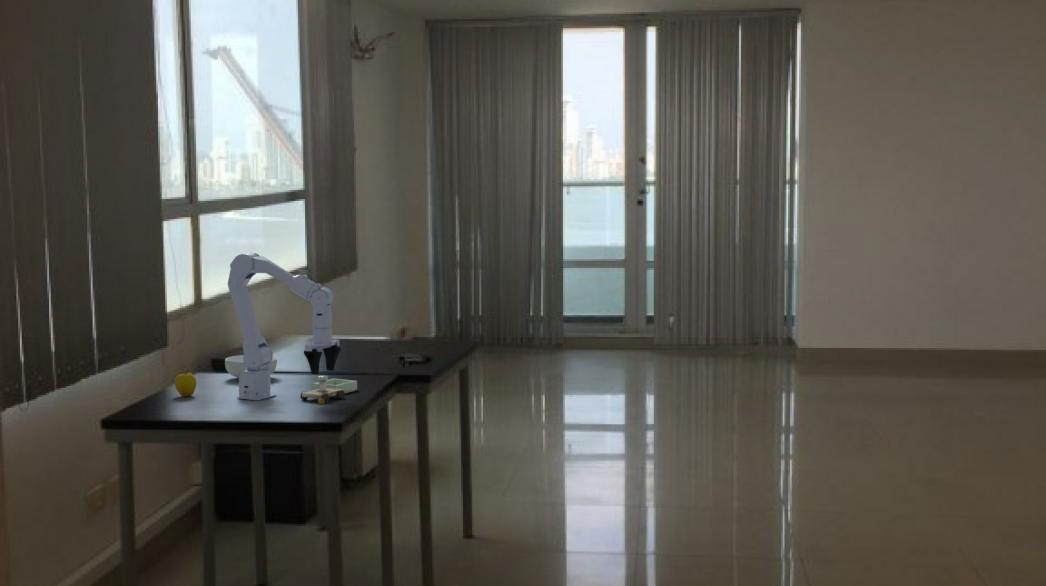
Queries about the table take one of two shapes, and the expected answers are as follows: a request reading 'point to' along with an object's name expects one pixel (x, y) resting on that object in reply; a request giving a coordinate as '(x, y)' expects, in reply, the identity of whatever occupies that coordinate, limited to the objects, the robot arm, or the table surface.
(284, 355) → the table surface
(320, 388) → the stop pin
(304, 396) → the toy car
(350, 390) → the tray
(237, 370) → the cereal bowl
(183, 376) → the apple
